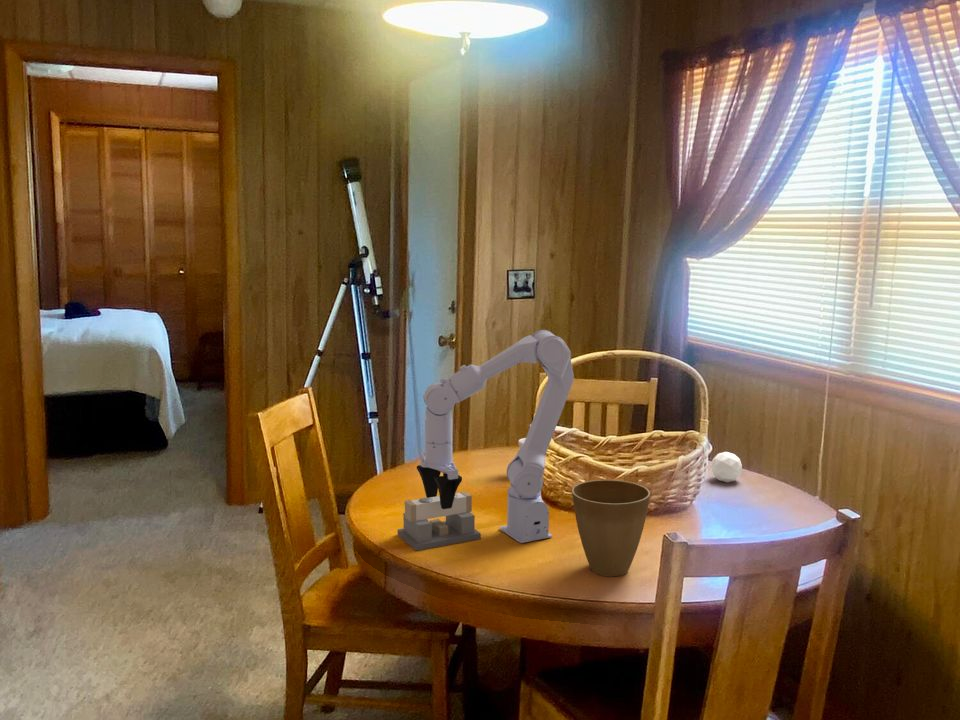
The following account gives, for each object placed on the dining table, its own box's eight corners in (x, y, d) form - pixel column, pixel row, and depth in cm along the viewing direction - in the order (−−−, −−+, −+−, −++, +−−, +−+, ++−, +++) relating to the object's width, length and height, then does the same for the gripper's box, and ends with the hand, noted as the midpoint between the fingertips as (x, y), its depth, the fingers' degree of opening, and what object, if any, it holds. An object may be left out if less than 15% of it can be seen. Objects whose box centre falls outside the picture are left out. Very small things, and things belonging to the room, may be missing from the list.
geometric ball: (727, 488, 225) (742, 463, 226) (735, 487, 217) (751, 460, 218) (702, 472, 226) (717, 447, 227) (709, 470, 218) (725, 444, 219)
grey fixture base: (459, 523, 191) (460, 502, 190) (480, 538, 182) (480, 516, 181) (397, 534, 184) (397, 512, 183) (416, 550, 175) (415, 527, 174)
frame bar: (471, 511, 184) (471, 495, 183) (410, 522, 177) (410, 505, 177) (465, 507, 187) (465, 490, 186) (404, 517, 180) (404, 500, 179)
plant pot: (640, 554, 174) (643, 479, 171) (652, 586, 159) (656, 504, 157) (567, 553, 175) (569, 477, 172) (572, 584, 160) (574, 502, 157)
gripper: (407, 434, 184) (408, 495, 186) (436, 451, 171) (436, 516, 173) (437, 431, 187) (437, 490, 189) (467, 447, 174) (467, 510, 177)
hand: (438, 502), depth 182 cm, fingers open, 7 cm apart
